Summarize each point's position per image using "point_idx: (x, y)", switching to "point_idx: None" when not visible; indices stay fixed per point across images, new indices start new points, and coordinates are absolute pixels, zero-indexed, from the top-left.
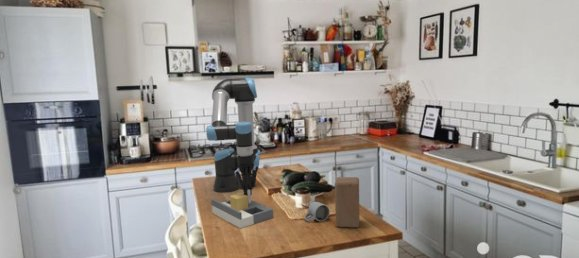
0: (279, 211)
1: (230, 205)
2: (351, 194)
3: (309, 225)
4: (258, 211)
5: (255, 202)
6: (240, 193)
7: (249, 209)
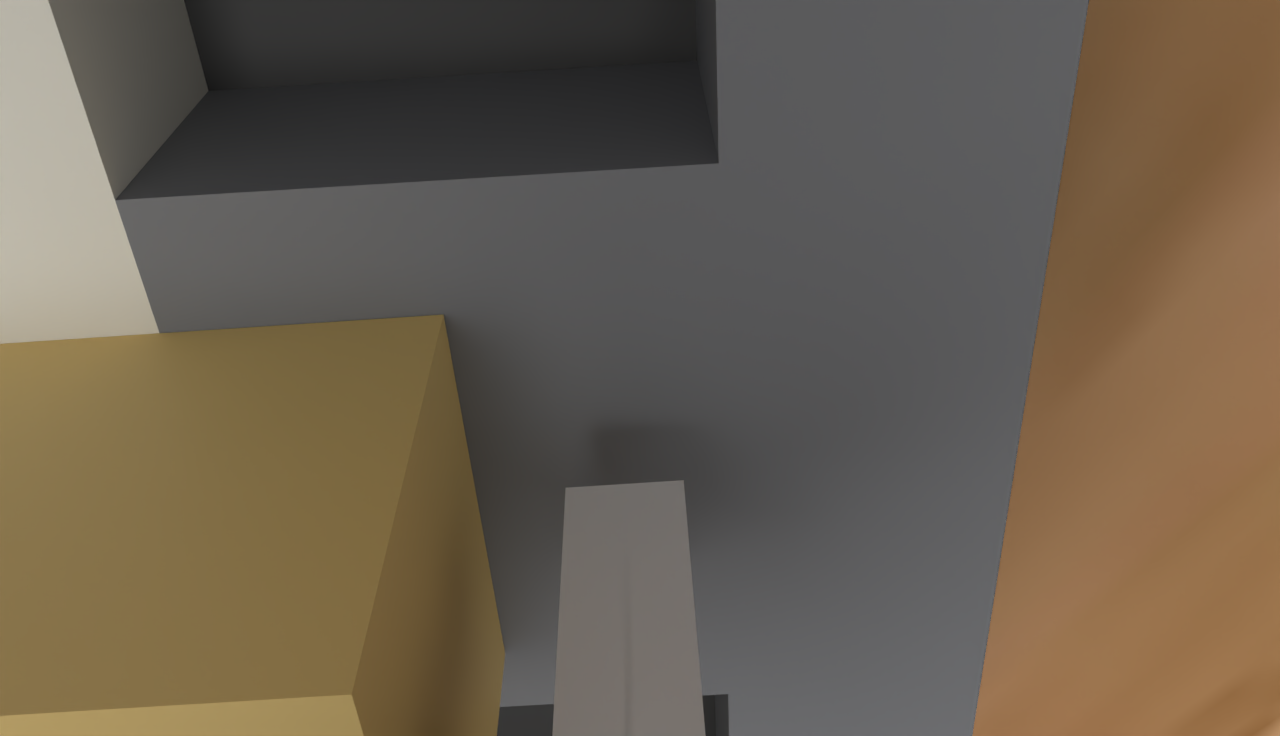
0: (1240, 647)
1: (13, 74)
2: None
3: None
4: (722, 705)
5: (990, 403)
6: (315, 731)
7: (507, 692)
